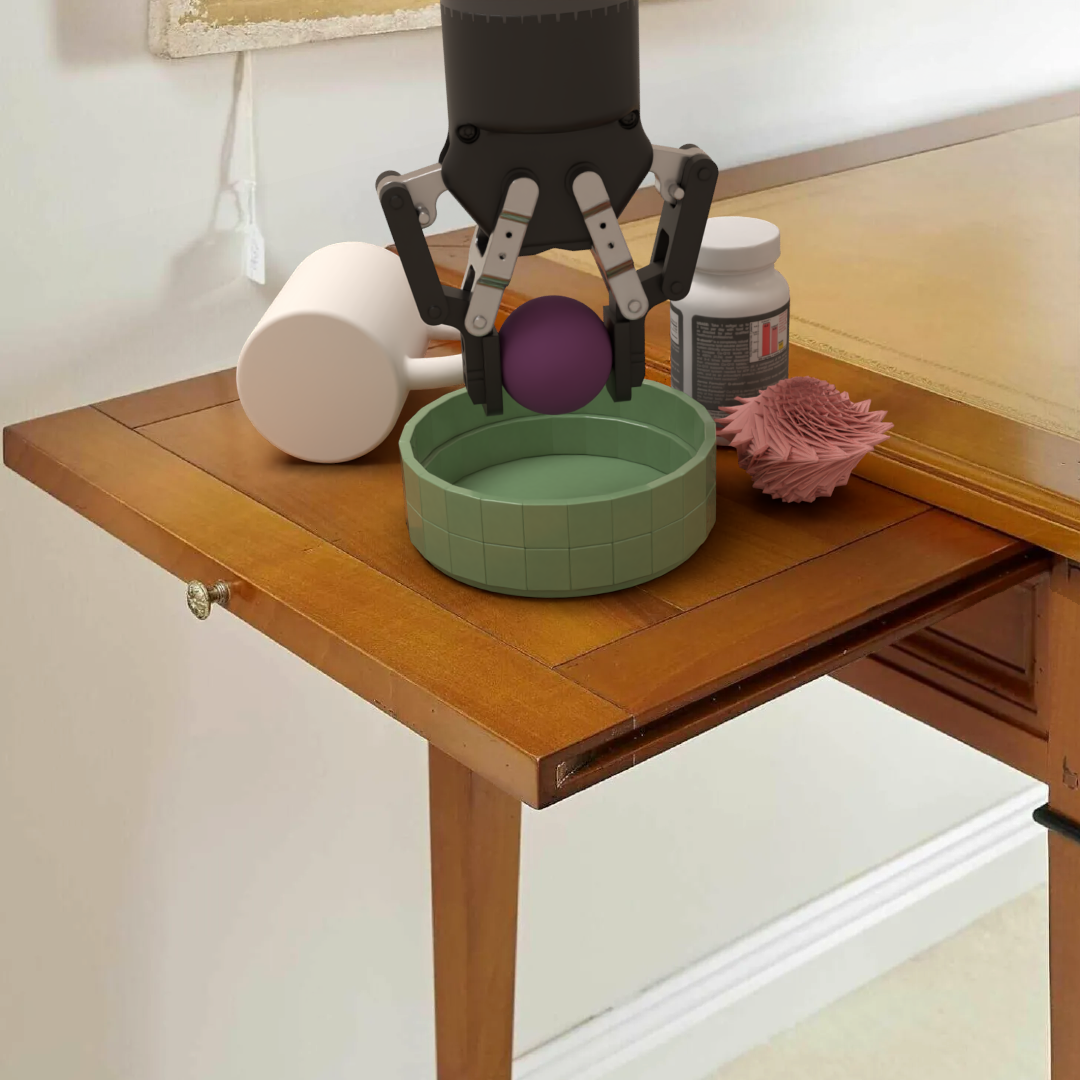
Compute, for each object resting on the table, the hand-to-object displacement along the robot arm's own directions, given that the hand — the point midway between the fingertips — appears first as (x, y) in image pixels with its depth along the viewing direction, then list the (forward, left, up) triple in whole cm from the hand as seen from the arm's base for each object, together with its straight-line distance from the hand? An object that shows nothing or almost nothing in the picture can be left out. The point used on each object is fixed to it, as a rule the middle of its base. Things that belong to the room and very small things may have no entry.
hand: (556, 400), depth 70 cm
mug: (+6, -13, -6) cm, 16 cm away
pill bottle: (-10, -8, -6) cm, 14 cm away
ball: (0, 0, 0) cm, 0 cm away
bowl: (0, 0, -6) cm, 6 cm away
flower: (-11, 0, -6) cm, 13 cm away
